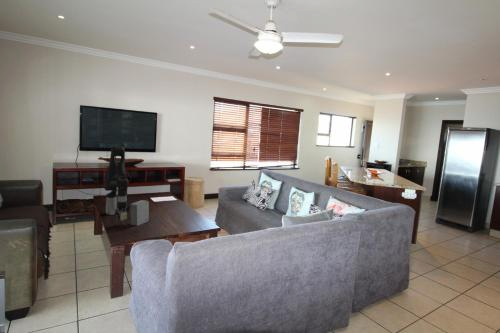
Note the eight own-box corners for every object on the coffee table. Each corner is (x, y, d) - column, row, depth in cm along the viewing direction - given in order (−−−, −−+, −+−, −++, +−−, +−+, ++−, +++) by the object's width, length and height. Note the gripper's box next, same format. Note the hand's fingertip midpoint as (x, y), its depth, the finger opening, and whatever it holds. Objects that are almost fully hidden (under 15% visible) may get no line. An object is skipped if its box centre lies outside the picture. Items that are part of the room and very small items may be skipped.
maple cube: (116, 219, 258) (116, 212, 257) (122, 217, 263) (122, 211, 263) (121, 220, 256) (121, 214, 255) (126, 218, 261) (127, 212, 260)
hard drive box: (142, 219, 277) (142, 199, 274) (148, 221, 274) (149, 201, 271) (130, 224, 263) (130, 203, 260) (136, 226, 260) (137, 204, 257)
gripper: (125, 198, 265) (125, 215, 267) (112, 201, 252) (112, 219, 255) (131, 199, 262) (131, 217, 264) (118, 203, 249) (118, 221, 251)
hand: (121, 218), depth 259 cm, fingers closed on maple cube, 6 cm apart
